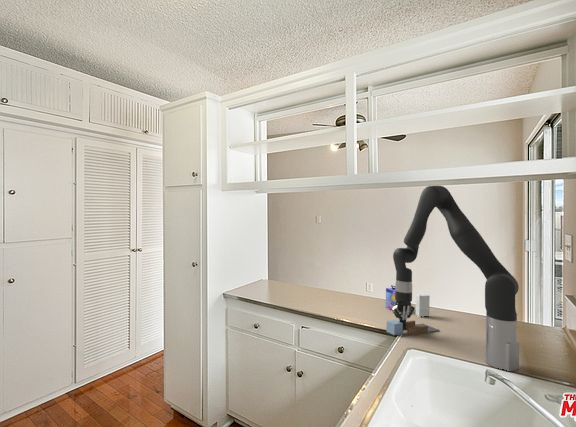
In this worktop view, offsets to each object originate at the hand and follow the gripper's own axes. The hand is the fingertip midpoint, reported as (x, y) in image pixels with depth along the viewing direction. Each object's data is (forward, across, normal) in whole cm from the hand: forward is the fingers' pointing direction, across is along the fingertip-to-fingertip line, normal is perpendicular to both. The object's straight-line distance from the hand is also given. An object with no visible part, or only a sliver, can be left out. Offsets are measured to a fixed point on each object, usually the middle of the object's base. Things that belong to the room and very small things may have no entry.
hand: (402, 327), depth 145 cm
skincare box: (+2, +30, +16) cm, 34 cm away
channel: (+2, +5, 0) cm, 6 cm away
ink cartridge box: (+2, +24, +31) cm, 39 cm away
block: (+2, -5, 0) cm, 5 cm away
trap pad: (+2, +15, 0) cm, 16 cm away
